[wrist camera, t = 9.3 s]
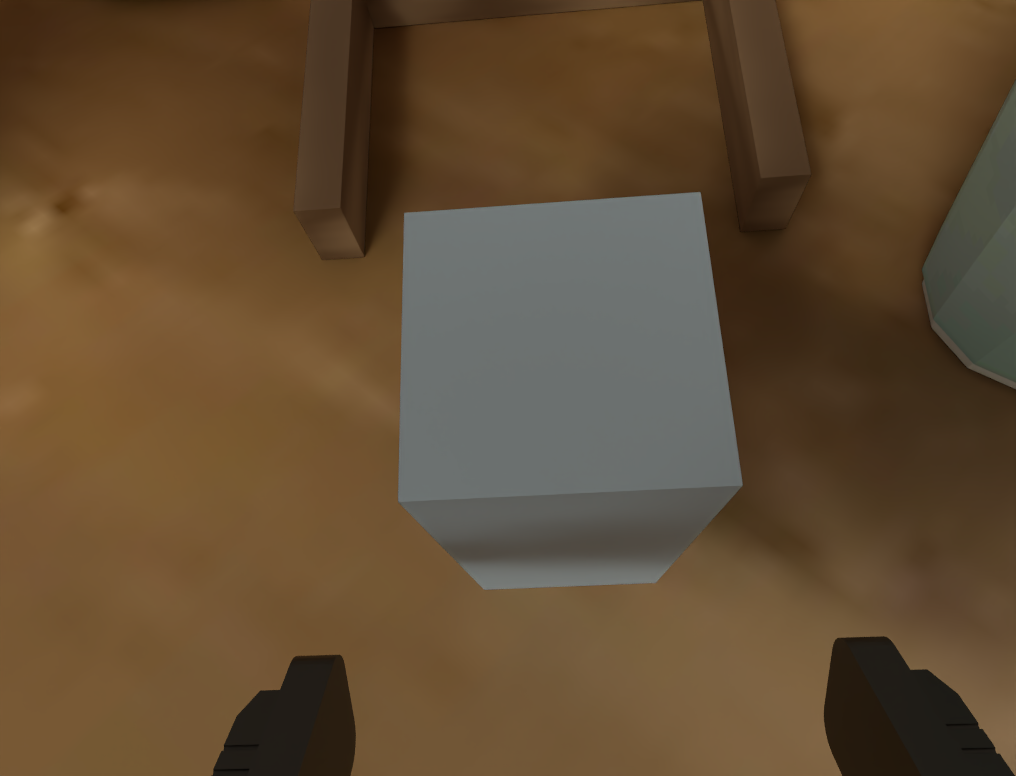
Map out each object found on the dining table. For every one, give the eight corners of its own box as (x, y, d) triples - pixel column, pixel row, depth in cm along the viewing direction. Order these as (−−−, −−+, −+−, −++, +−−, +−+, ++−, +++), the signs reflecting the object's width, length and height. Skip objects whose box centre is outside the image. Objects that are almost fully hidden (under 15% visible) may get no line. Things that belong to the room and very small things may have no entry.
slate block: (484, 589, 22) (398, 502, 11) (480, 427, 24) (404, 212, 13) (655, 582, 22) (743, 485, 11) (639, 419, 24) (700, 192, 13)
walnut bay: (322, 259, 27) (293, 211, 24) (339, 3, 31) (316, -64, 28) (785, 228, 26) (811, 174, 23) (736, -32, 30) (753, -105, 27)
